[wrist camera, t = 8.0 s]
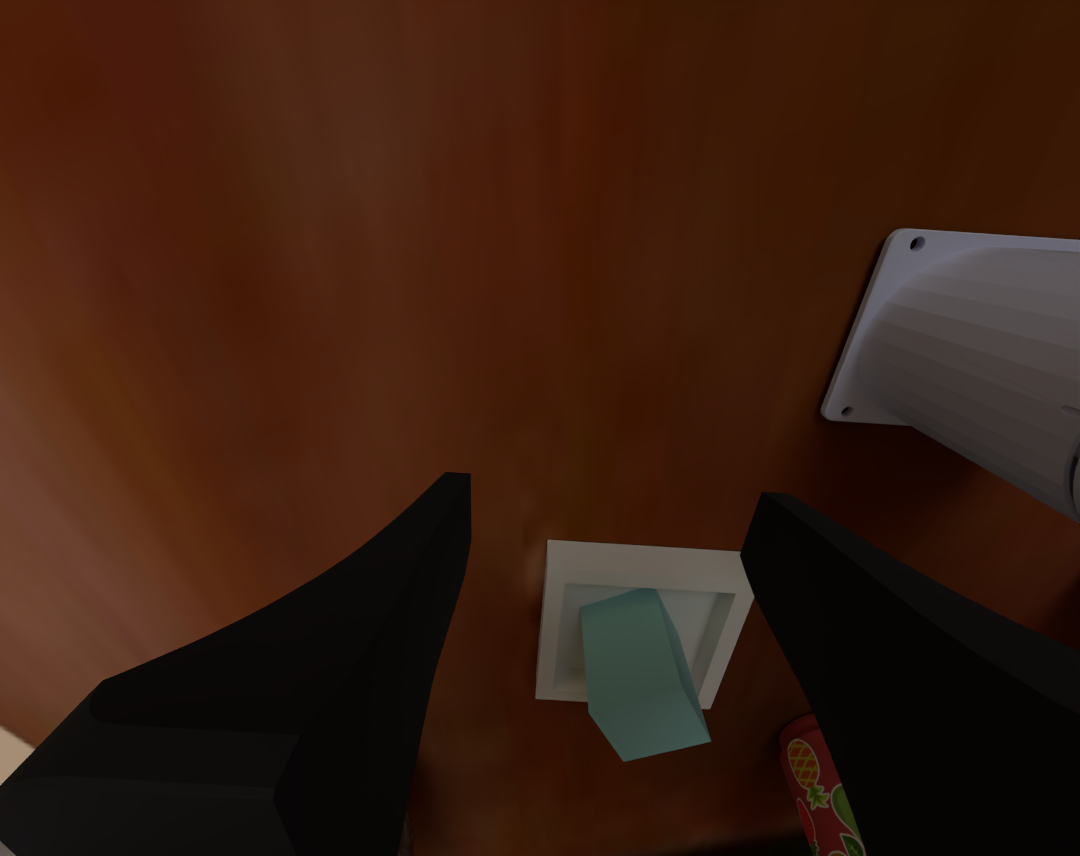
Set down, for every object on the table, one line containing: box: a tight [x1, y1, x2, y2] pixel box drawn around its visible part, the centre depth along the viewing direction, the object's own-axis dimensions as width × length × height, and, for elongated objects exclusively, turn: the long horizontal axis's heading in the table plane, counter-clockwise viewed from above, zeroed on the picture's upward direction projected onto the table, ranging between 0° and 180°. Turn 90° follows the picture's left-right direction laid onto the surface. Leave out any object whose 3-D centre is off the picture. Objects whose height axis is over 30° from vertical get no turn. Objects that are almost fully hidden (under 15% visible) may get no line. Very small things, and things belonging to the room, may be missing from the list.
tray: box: [536, 540, 754, 709], centre depth 25 cm, size 11×11×2 cm
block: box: [581, 588, 711, 762], centre depth 23 cm, size 4×4×6 cm
